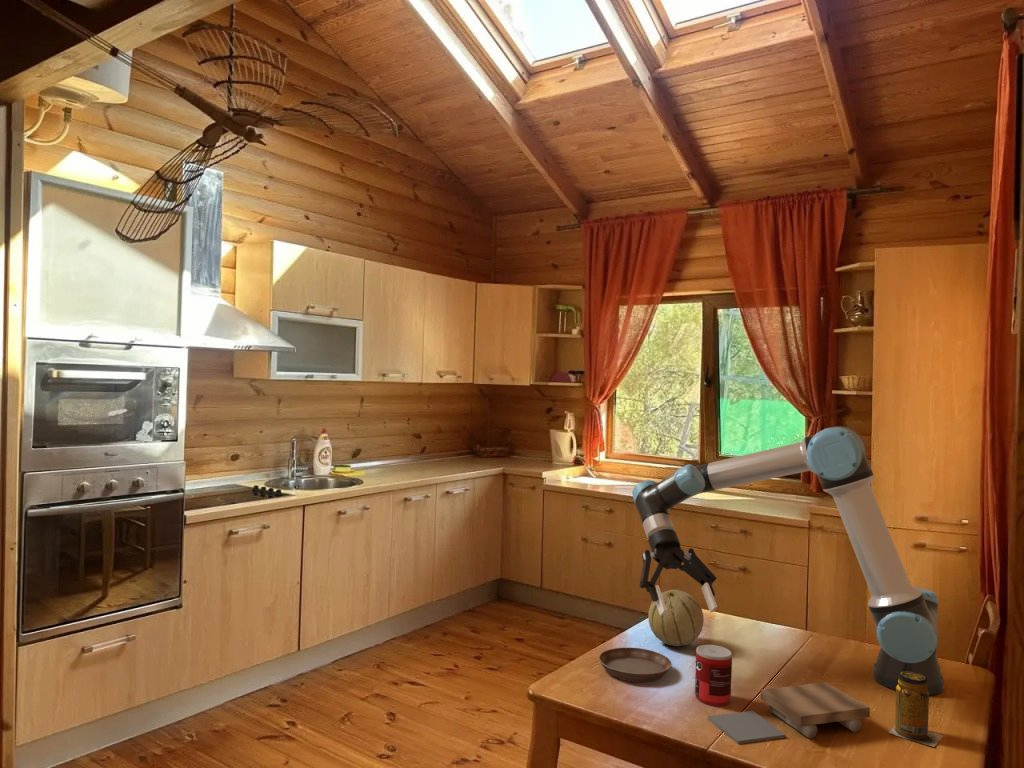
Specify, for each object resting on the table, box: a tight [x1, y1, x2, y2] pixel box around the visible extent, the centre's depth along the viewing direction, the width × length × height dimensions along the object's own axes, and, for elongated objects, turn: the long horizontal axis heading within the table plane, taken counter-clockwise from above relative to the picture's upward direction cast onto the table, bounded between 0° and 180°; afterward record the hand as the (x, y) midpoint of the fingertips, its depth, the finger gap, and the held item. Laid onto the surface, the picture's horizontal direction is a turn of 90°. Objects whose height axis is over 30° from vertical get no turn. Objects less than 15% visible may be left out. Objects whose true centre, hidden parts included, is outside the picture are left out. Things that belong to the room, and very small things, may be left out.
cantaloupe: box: [647, 589, 704, 647], centre depth 201 cm, size 15×15×15 cm
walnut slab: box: [760, 682, 871, 739], centre depth 157 cm, size 17×13×5 cm
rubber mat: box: [707, 710, 786, 745], centre depth 153 cm, size 11×11×1 cm
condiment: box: [887, 672, 944, 748], centre depth 152 cm, size 7×8×12 cm
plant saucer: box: [598, 647, 673, 683], centre depth 182 cm, size 18×18×3 cm
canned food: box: [694, 644, 733, 707], centre depth 167 cm, size 8×8×11 cm
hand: (689, 611), depth 178 cm, fingers open, 13 cm apart
